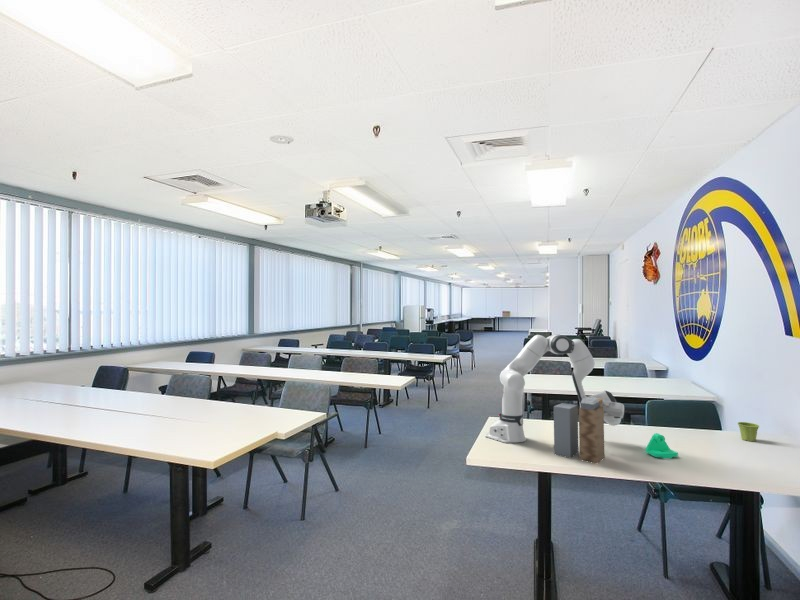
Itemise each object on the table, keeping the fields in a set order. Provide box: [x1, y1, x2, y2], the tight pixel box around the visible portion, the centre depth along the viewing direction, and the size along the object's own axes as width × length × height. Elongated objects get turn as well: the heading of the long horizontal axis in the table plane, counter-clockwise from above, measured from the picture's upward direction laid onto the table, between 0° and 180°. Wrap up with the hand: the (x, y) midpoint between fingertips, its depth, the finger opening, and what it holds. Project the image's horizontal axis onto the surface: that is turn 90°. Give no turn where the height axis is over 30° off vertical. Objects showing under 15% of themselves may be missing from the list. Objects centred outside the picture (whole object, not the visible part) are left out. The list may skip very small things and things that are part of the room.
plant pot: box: [737, 421, 760, 442], centre depth 234 cm, size 9×9×9 cm
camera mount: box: [645, 432, 679, 459], centre depth 210 cm, size 12×8×10 cm, turn 94°
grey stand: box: [553, 402, 580, 458], centre depth 215 cm, size 8×11×24 cm
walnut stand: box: [578, 406, 605, 464], centre depth 206 cm, size 8×11×25 cm
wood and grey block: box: [581, 396, 603, 410], centre depth 210 cm, size 6×20×4 cm, turn 138°
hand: (598, 400), depth 215 cm, fingers closed on wood and grey block, 3 cm apart
